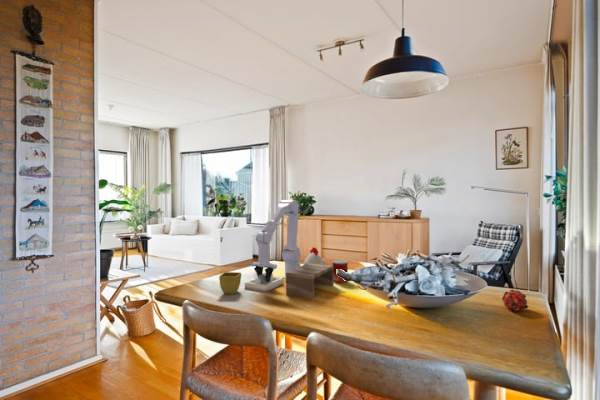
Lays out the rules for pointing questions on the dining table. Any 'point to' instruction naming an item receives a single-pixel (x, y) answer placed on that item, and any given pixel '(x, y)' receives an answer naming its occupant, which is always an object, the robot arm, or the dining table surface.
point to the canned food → (339, 265)
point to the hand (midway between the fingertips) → (264, 281)
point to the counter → (308, 279)
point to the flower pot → (230, 282)
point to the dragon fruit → (515, 300)
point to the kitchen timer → (314, 258)
